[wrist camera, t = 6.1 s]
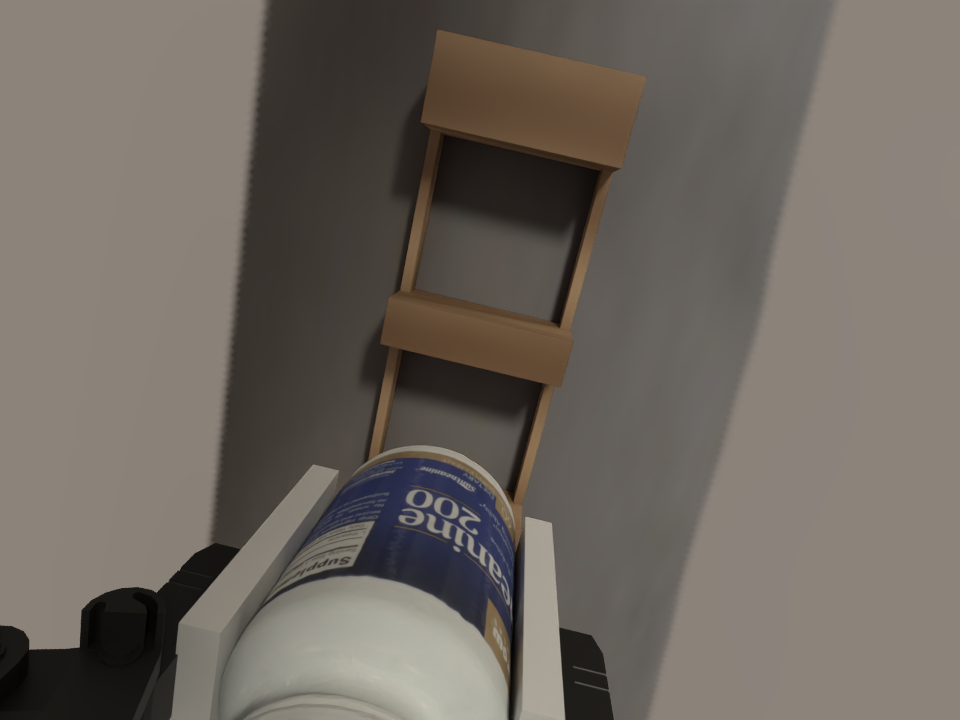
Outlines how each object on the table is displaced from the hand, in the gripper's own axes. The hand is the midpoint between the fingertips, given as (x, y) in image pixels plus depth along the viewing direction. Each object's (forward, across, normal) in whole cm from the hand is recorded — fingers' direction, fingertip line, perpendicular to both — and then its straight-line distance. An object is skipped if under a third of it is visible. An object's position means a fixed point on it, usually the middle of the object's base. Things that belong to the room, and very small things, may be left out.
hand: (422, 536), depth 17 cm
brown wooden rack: (+10, 0, +4) cm, 10 cm away
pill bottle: (+1, 0, 0) cm, 1 cm away
